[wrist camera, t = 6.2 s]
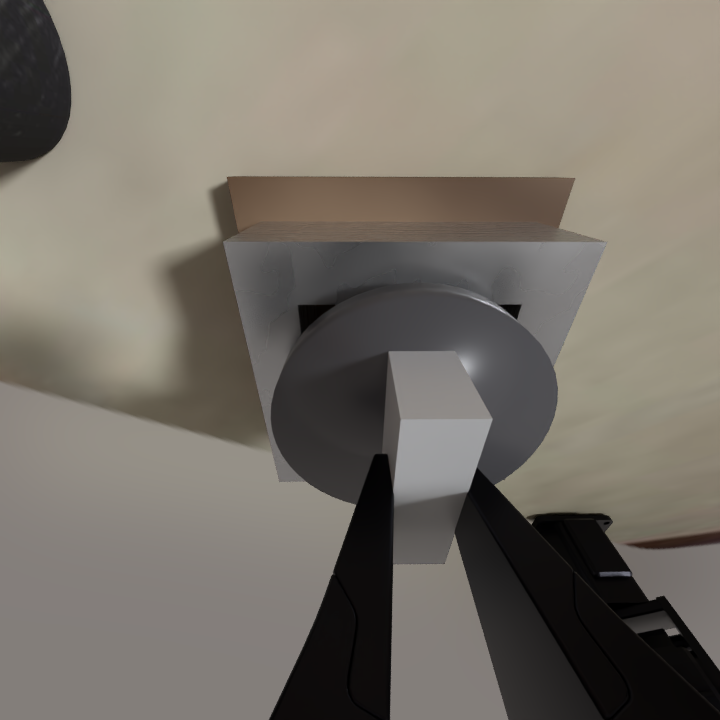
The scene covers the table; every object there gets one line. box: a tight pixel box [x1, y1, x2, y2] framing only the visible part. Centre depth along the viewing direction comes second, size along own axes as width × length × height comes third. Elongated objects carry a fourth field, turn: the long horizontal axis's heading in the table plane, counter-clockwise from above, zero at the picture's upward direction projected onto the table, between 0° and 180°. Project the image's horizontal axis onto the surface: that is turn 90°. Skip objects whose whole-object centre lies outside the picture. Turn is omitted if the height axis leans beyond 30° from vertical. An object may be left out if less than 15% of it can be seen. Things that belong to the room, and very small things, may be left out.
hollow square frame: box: [223, 221, 607, 482], centre depth 13 cm, size 11×11×4 cm
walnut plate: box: [227, 176, 575, 319], centre depth 15 cm, size 14×13×1 cm
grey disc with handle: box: [271, 282, 558, 564], centre depth 10 cm, size 9×9×7 cm
